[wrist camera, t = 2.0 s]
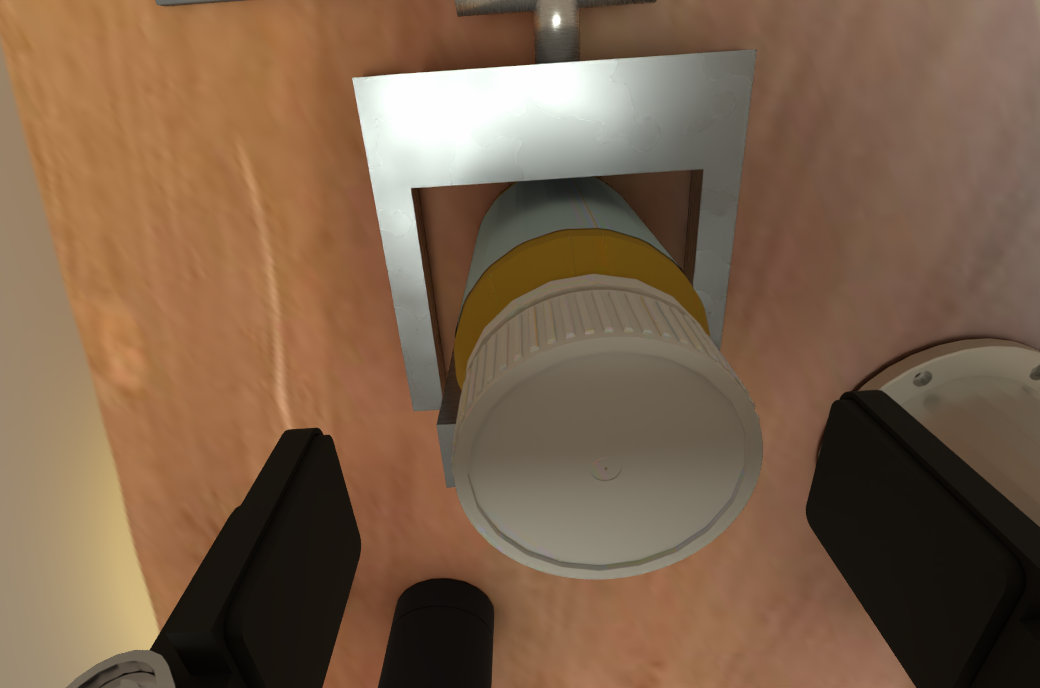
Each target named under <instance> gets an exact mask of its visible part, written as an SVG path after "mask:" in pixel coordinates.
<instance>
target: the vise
mask: <svg viewBox="0 0 1040 688" xmlns="http://www.w3.org/2000/svg"><path fill="white" fill-rule="evenodd" d="M655 2H656V0H455V4H456V10H457V15H458V17H463V16H477V15H491V14H505V13H518V12H532V11H533V18H534V41H535V64H536V65H523V66H509V67H495V68H480V69H466V70H452V71H437V72H423V73H409V74H395V75H380V76H372V77H357V78H352V79H353V85H354V90H355V96H356V101H357V106H358V112H359V117H360V123H361V128H362V134H363V139H364V145H365V150H366V155H367V161H368V166H369V172H370V177H371V183H372V188H373V194H374V199H375V204H376V210H377V215H378V221H379V226H380V232H381V237H382V243H383V248H384V253H385V259H386V264H387V270H388V275H389V281H390V286H391V292H392V297H393V302H394V308H395V313H396V319H397V324H398V330H399V335H400V341H401V346H402V351H403V357H404V362H405V368H406V373H407V379H408V384H409V390H410V395H411V400H412V406H413V411H425V410H440V412H439V416H438V421H437V431H438V437H439V443H440V449H441V455H442V462H443V468H444V474H445V480H446V486H447V488H448V487H455V481H454V476H453V474H452V467H453V463H452V461H451V456H452V450H453V448H452V444H453V438H454V432H455V426H456V421H457V415H458V409H459V403H460V397H461V393H462V391H461V389H460V386H459V384H458V381H457V377H456V368H455V357H454V349H453V353H452V358H451V362H450V367H449V371H448V376H447V380H446V377H445V370H444V364H443V357H442V350H441V343H440V336H439V329H438V322H437V316H436V309H435V302H434V295H433V288H432V281H431V274H430V268H429V261H428V254H427V247H426V240H425V233H424V226H423V220H422V213H421V206H420V199H419V192H418V188H421V187H436V186H452V185H467V184H482V183H498V182H513V181H528V180H544V179H559V178H574V177H590V176H605V175H620V174H635V173H651V172H666V171H681V170H692V175H691V187H690V200H689V212H688V224H687V237H686V249H685V262H684V274H685V276H686V277H687V279H688V280H689V282H690V283H691V285H692V286H693V288H694V289H695V291H696V293H697V294H698V296H699V297H700V299H701V301H702V303H703V306H704V308H705V313H706V317H707V322H708V327H709V332H710V338H711V340H712V341H713V342H714V344H715V345H716V347H717V348H718V349H719V351H720V347H721V338H722V330H723V322H724V314H725V306H726V297H727V289H728V281H729V273H730V265H731V256H732V248H733V240H734V232H735V224H736V215H737V207H738V199H739V191H740V183H741V174H742V166H743V158H744V150H745V142H746V133H747V125H748V117H749V109H750V100H751V92H752V84H753V76H754V68H755V59H756V51H757V50H754V49H751V50H737V51H723V52H708V53H694V54H680V55H666V56H651V57H637V58H623V59H609V60H594V61H580V32H579V8H587V7H601V6H615V5H629V4H643V3H655Z"/></svg>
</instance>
